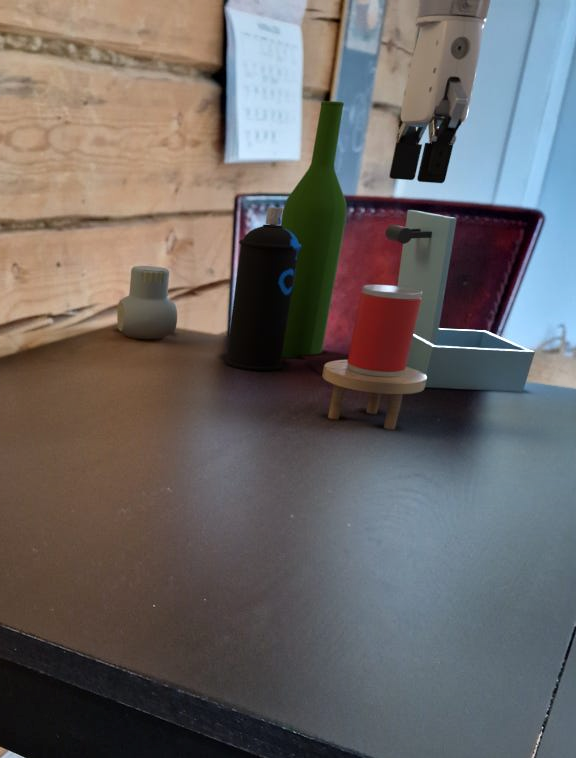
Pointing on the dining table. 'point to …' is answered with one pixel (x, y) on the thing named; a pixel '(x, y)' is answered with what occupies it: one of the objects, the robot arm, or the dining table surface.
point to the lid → (425, 264)
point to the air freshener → (147, 305)
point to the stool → (372, 388)
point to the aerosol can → (262, 296)
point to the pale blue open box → (471, 361)
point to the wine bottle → (315, 238)
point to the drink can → (383, 330)
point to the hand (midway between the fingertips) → (415, 180)
